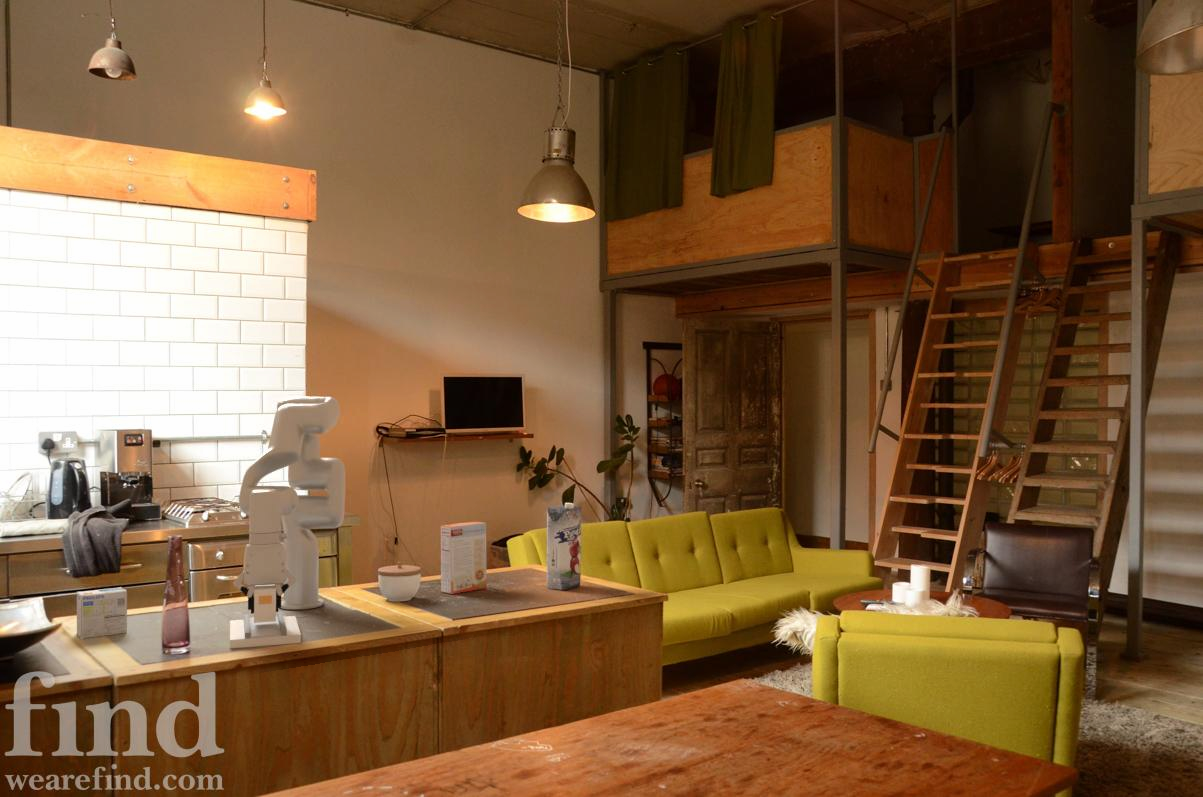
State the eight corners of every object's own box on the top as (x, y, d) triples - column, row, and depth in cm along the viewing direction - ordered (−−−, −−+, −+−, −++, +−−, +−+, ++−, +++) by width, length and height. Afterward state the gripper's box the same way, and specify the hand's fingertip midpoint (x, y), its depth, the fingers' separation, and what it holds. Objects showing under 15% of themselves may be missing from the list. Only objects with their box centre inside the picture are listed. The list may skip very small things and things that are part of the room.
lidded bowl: (414, 593, 293) (415, 557, 293) (425, 601, 281) (426, 563, 281) (373, 597, 287) (373, 560, 287) (382, 605, 276) (383, 566, 276)
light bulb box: (121, 628, 245) (122, 586, 246) (128, 633, 240) (128, 590, 240) (75, 634, 239) (75, 591, 239) (80, 639, 234) (80, 595, 234)
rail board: (229, 628, 246) (230, 615, 246) (295, 623, 251) (295, 610, 252) (229, 648, 225) (230, 634, 225) (300, 642, 231) (300, 628, 231)
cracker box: (475, 586, 305) (475, 520, 306) (487, 588, 301) (487, 522, 301) (439, 592, 295) (439, 524, 296) (451, 594, 291) (451, 526, 291)
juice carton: (542, 588, 302) (543, 503, 302) (561, 583, 311) (561, 500, 311) (566, 591, 297) (566, 504, 297) (584, 586, 306) (584, 502, 306)
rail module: (253, 616, 241) (253, 585, 241) (274, 615, 243) (274, 583, 243) (254, 623, 234) (254, 590, 234) (275, 621, 236) (276, 589, 236)
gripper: (299, 535, 245) (299, 606, 245) (228, 538, 239) (227, 611, 239) (301, 539, 238) (301, 612, 238) (228, 542, 232) (227, 617, 232)
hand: (264, 610), depth 238 cm, fingers closed on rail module, 5 cm apart
